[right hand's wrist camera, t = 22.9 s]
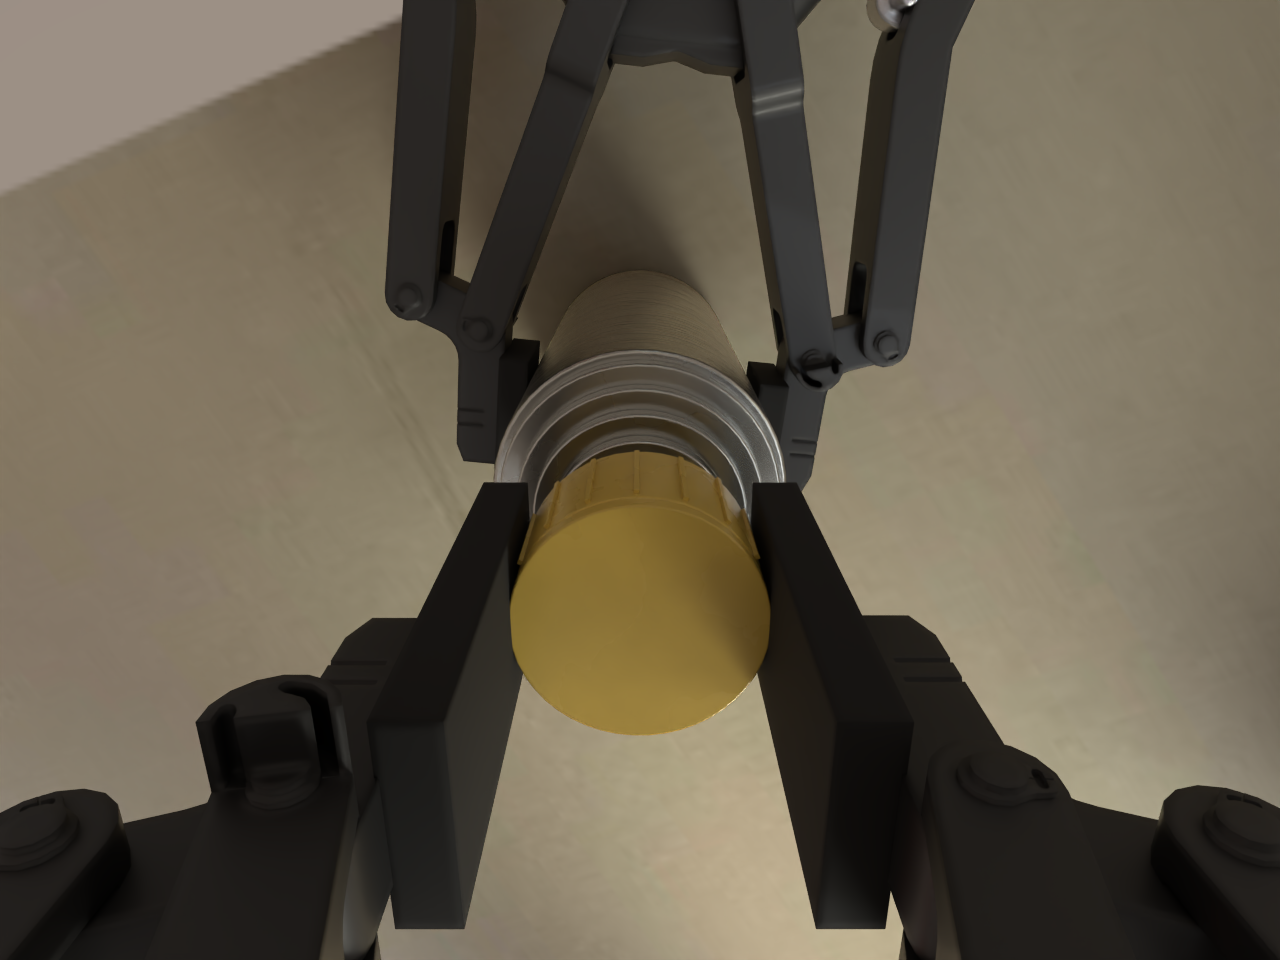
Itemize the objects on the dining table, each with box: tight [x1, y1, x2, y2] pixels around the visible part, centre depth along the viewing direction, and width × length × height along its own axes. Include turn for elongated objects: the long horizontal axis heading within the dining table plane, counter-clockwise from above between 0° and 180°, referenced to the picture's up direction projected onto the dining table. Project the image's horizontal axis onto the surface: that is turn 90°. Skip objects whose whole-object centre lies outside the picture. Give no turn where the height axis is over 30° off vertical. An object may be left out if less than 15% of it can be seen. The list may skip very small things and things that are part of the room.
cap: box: [510, 450, 771, 735], centre depth 13 cm, size 4×4×2 cm
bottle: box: [494, 270, 786, 524], centre depth 21 cm, size 6×6×18 cm
